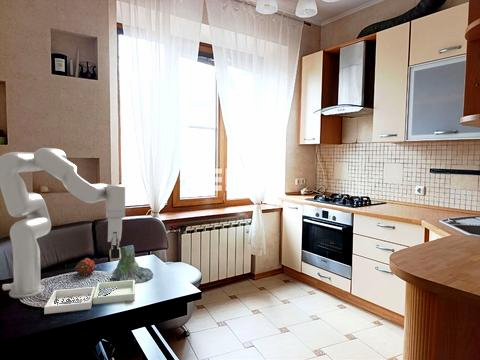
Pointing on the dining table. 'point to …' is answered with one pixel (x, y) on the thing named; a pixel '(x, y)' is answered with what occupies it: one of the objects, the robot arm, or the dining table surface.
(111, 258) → the birch block
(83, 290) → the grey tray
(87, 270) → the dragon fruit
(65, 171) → the robot arm
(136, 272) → the tree stump
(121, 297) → the sage bin
